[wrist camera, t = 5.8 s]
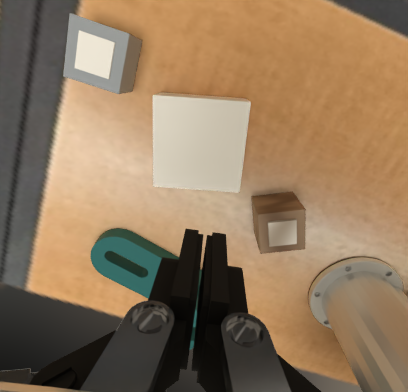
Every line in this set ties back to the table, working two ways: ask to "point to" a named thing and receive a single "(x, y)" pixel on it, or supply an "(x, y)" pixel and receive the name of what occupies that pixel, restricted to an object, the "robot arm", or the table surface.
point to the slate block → (101, 55)
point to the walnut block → (278, 222)
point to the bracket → (131, 262)
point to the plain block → (199, 141)
